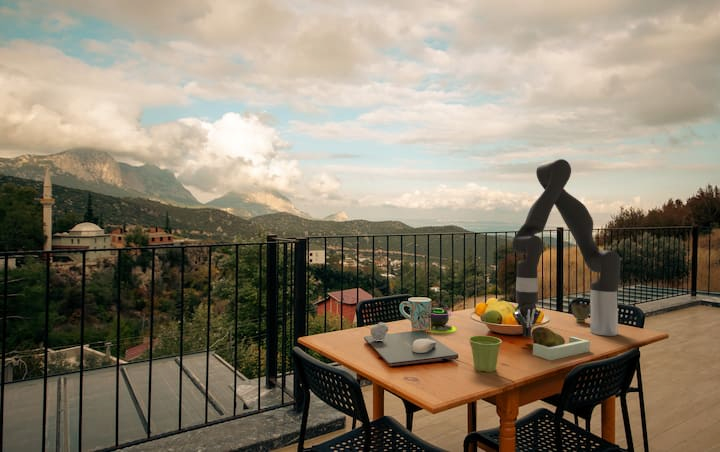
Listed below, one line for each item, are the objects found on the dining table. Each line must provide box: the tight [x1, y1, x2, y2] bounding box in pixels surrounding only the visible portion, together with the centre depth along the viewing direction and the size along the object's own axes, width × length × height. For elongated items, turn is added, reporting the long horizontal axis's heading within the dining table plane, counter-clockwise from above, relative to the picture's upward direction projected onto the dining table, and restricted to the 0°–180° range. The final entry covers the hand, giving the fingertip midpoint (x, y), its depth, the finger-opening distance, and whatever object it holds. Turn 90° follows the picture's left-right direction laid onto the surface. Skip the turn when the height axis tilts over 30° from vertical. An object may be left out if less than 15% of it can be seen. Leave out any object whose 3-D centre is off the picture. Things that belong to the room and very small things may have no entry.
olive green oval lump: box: [531, 326, 566, 347], centre depth 140 cm, size 8×13×8 cm, turn 97°
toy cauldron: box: [427, 301, 457, 334], centre depth 169 cm, size 15×15×11 cm
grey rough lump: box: [369, 321, 389, 340], centre depth 149 cm, size 6×7×7 cm
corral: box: [532, 336, 591, 361], centre depth 136 cm, size 20×6×4 cm, turn 118°
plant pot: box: [468, 335, 503, 373], centre depth 121 cm, size 9×9×9 cm
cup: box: [571, 302, 590, 324], centre depth 181 cm, size 8×7×8 cm
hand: (526, 336), depth 149 cm, fingers closed
